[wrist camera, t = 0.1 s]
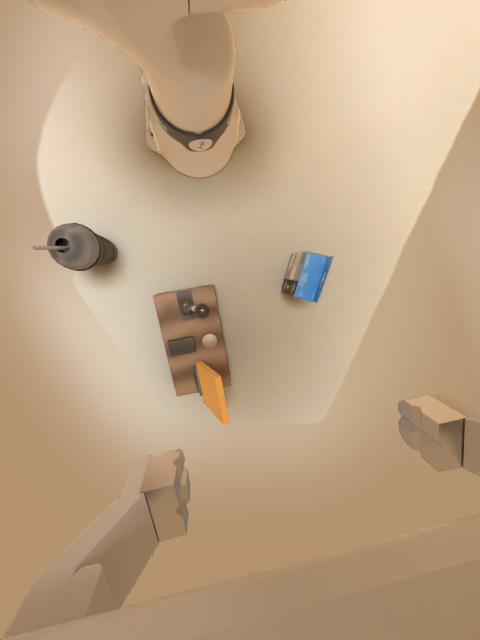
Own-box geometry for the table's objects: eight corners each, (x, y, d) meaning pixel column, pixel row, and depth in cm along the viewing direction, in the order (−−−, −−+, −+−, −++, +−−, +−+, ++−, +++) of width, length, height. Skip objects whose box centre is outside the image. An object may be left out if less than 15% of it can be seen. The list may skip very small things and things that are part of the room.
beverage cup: (131, 258, 52) (85, 253, 33) (101, 276, 52) (37, 282, 33) (109, 225, 51) (47, 200, 31) (78, 244, 51) (-4, 231, 31)
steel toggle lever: (176, 300, 50) (195, 304, 40) (189, 297, 51) (211, 300, 41) (179, 314, 51) (199, 322, 41) (192, 311, 52) (214, 318, 42)
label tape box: (291, 252, 56) (313, 249, 44) (308, 257, 56) (335, 255, 45) (279, 291, 57) (298, 298, 45) (296, 296, 58) (319, 304, 46)
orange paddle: (191, 361, 53) (212, 378, 43) (200, 358, 54) (222, 375, 44) (200, 399, 55) (222, 425, 45) (207, 396, 56) (231, 421, 46)
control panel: (157, 293, 54) (151, 296, 49) (213, 284, 55) (213, 286, 50) (179, 387, 59) (176, 399, 54) (230, 377, 60) (232, 387, 55)
